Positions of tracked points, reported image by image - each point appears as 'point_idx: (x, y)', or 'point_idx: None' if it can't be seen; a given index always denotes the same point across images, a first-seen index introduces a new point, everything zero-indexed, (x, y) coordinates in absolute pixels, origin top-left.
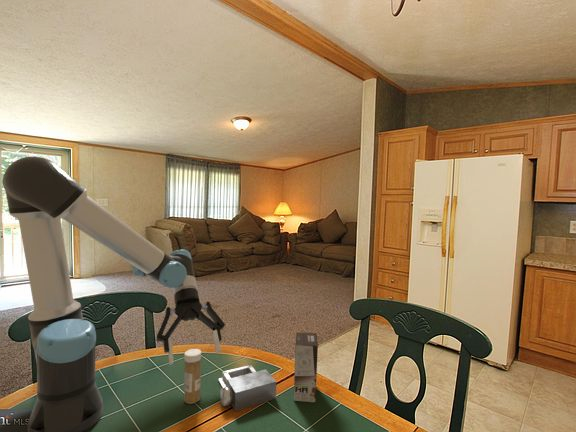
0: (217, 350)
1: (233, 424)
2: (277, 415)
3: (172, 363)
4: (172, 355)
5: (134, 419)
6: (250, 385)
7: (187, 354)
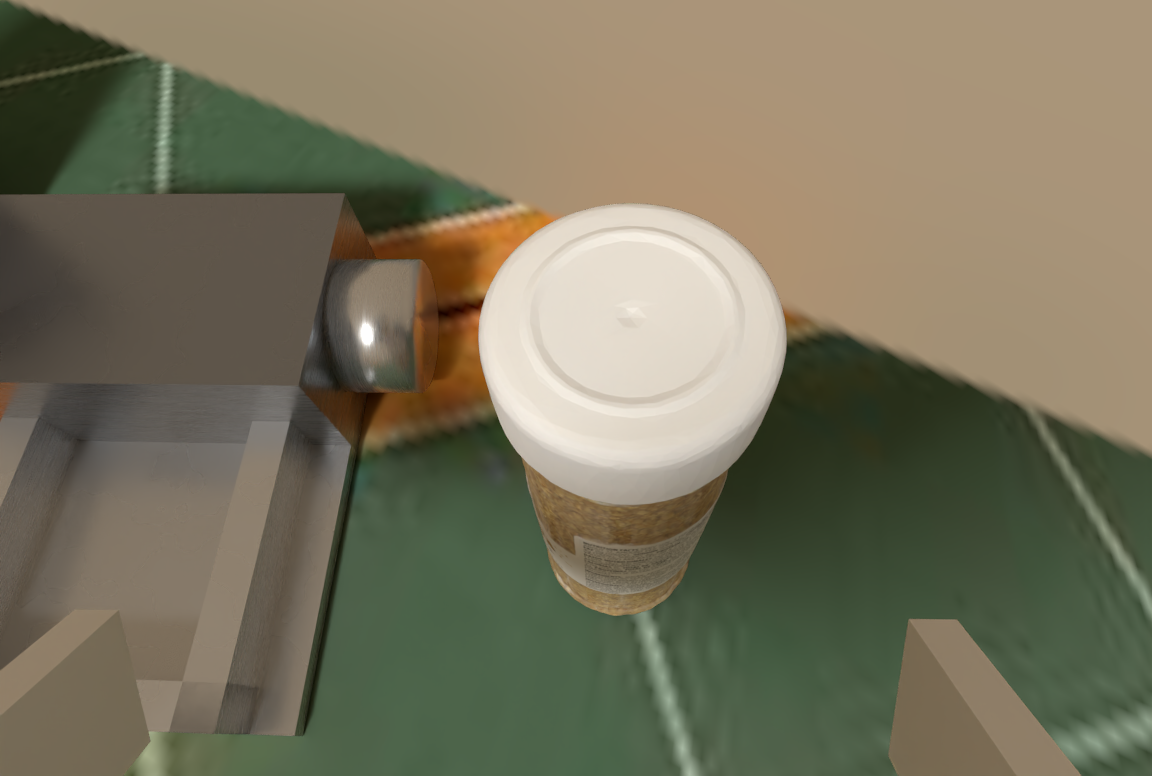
0: (109, 683)
1: (452, 197)
2: (202, 164)
3: (899, 714)
4: (969, 686)
5: (1076, 501)
6: (190, 227)
7: (741, 274)
